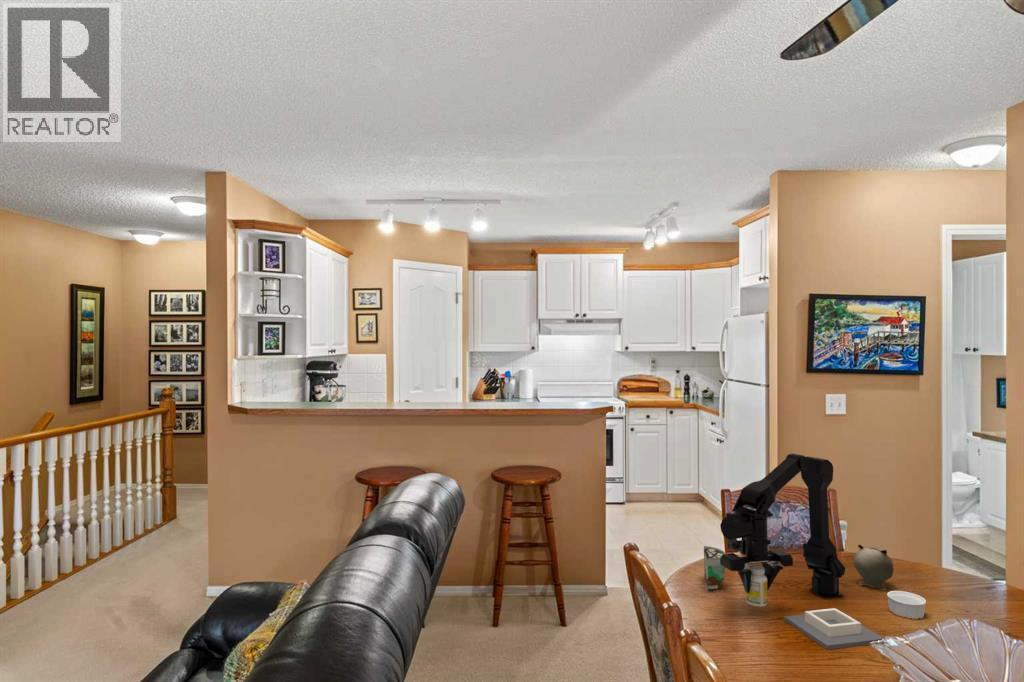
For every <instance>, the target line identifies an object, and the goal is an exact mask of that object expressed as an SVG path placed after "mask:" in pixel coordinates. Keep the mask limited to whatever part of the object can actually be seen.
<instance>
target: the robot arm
mask: <svg viewBox="0 0 1024 682" xmlns="http://www.w3.org/2000/svg"><path fill="white" fill-rule="evenodd" d="M799 473H800V476H801V480H803V482H804V484H805V485H806V487H807V495H808V496H807V497H808V512H809V513H808V514H809V515H808V518H809V532H810V533H809V534H810V535H809V536H810V537H808V540H807V541H806V542H804V543H803V544H802V548H803V554H802V557H804V560H805V563H806V566H807V569H808V570H812V576H811V587H809V591H811V592H812V593H815V594H816V595H818V597H819V596H820V597H822V598H824V599H826V598H827V599H828V598H838V597H844V594H843V593H841V592H840V581H839V580H840V579H841V578H842V577H843V576H845V574H846V566H845V565H844V564H843V563H842V562H841V561H840V560H839V559H838V557H839V556H838V553H837V548H836V546H835V544H834V543H833V541H832V540H831V538H830V523H829V504H828V498H829V497H828V489H829V486H830V485H831V483H832V482H833V479H834V465H833V462H831V461H830V460H829V459H825V458H821V457H820V458H819V457H815V456H808V455H807V456H806V455H802V454H797V453H789V454H787V455H786V457H785V459H784V460H783V461H781V462H780V463H779V464H778V465H777V466H776V467H775V468H774V469H773V470H771V471H770V472H769V473H768V474H767V475H766V476H765V477H763V478H762V479H760V480H756V481H754V482H751V483H749V484H747V485H745V486H744V487H743V488H742V489H741V491H740V493H739V495H738V498H737V500H736V502H735V504H734V506H733V508H732V511H733V512H730V511H729V512H726V513H725V515H726V516H725V517H724V518H723V519H722V520H721V523H720V531H721V533H722V536H724V538H725V539H727V542H726V544H727V548H728V550H733V552H734V553H725V554H723V555H722V556H721V558H720V564H721V565H723V566H724V567H725V569H728V571H731V572H737V573H738V575H739V577H740V580H741V583H742V586H743V588H744V592H745V593H746V592H747V593H749V591H750V584H751V573H752V571H751V570H749V565H757V564H761V565H762V567H764V568H765V573H764V575H765V576H766V577H767V592H768V591H770V590H769V589H770V588H771V586H772V585H773V583H774V581H775V579H776V577H777V576H778V575H779V573H780V572H781V571H782V570H784V568H785V567H793V566H794V559H793V556H792V555H791V554H790V553H788V552H786V551H784V550H782V549H770V550H768V549H769V546H768V545H771V541H772V540H771V539H769V538H768V518H770V517H773V516H774V514H773V513H772V511H770V510H769V509H770V508H771V507H772V505H773V504H774V502H776V498H777V494H778V492H779V491H781V489H783V488H784V487H785V486H786V485H787V484H789V482H790V481H792V480H793V479H794V478H795V477H796V476H797V475H798V474H799ZM738 539H741V540H738ZM736 553H739V554H741V555H743V556H739V555H738V554H736Z"/></svg>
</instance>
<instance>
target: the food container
mask: <svg viewBox="0 0 1024 682" xmlns="http://www.w3.org/2000/svg"><path fill="white" fill-rule="evenodd" d="M723 554H726V553H725V551H724V550H722V549H720V548H717V547H714V546H708V545H703V569H704V571H703V572H704V576H703V577H704V579H705V580H704V579H703V580H704V583H705V582H706V583H705V586H707V587H706V590H707V592H718V591H717V590H719V591H721V590H723V589H724V584H725V582H724V581H725V571H726V570H725V569H726V567H724V566H723V565H721V564H720V558H721V556H722V555H723ZM722 588H723V589H722Z"/></svg>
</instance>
